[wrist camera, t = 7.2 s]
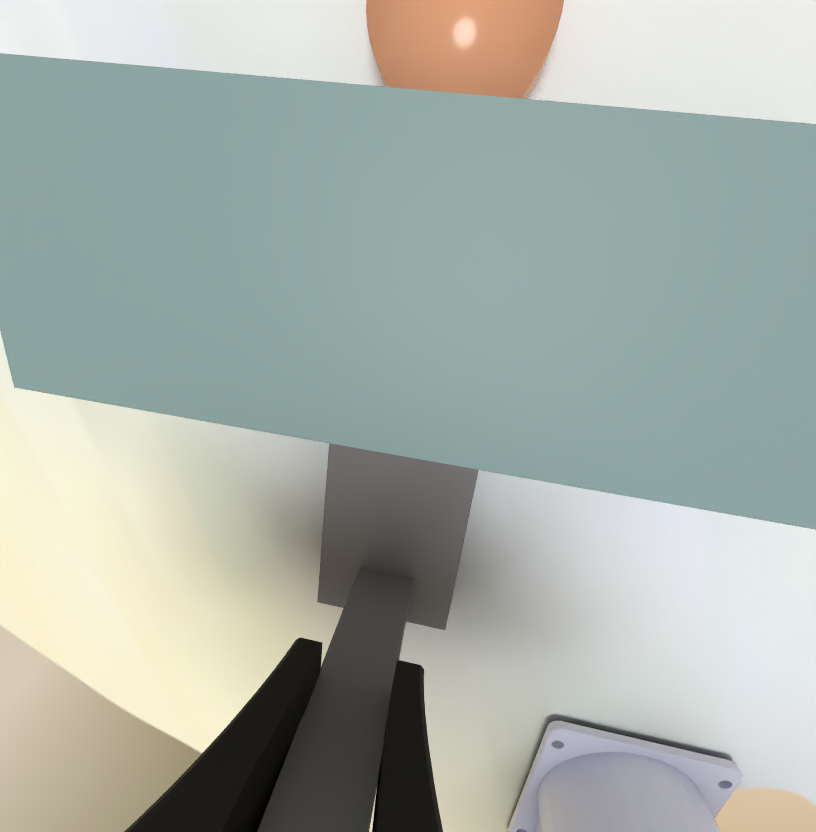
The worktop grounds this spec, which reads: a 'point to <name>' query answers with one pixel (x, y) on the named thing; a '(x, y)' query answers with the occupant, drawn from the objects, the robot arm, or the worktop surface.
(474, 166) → the grey-green bridge-shaped bar
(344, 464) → the scraper
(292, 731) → the robot arm
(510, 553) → the worktop surface
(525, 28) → the orange rounded disc
